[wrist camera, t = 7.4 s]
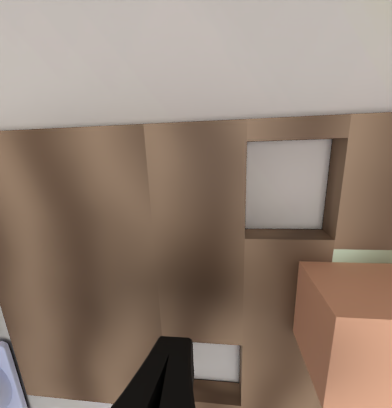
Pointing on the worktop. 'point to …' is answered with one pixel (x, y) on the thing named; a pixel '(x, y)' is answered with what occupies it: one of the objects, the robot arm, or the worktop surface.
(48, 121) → the worktop surface
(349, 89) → the worktop surface
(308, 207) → the worktop surface
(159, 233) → the trap deck
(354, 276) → the block
